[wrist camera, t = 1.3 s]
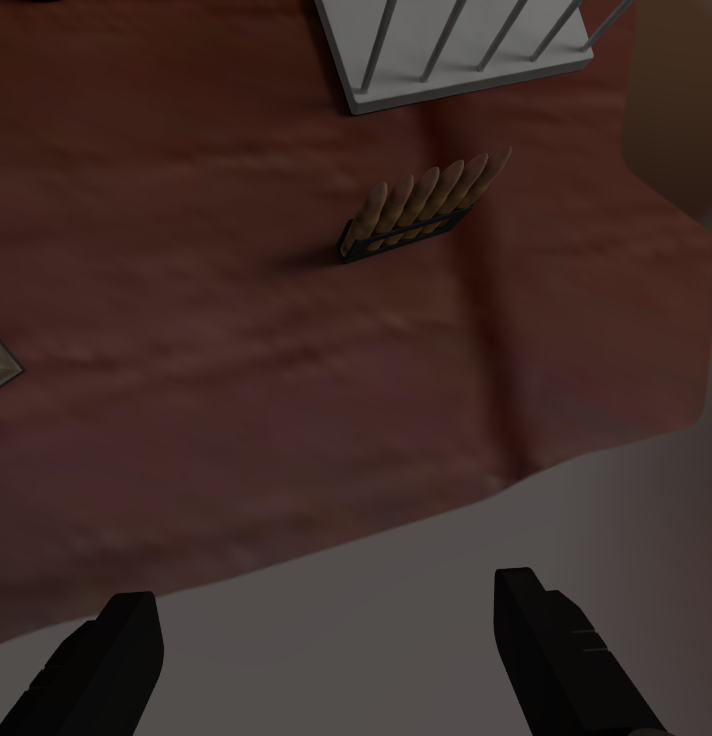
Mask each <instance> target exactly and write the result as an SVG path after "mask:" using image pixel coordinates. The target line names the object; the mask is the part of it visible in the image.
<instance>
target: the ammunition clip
mask: <svg viewBox="0 0 712 736" xmlns="http://www.w3.org/2000/svg"><path fill="white" fill-rule="evenodd" d="M511 149H512V148H511V147H510V146H509V147H505V148H503V149H501V150H499V151H497V152H496V153H495V154H493V155H492V156H491V157H490V158H489V159H488V154H487V153H484V154H481V155H479V156H477V157H475V158H474V159H472V160H471V161H470V162H469V163H468V164H467V165H466V166H465V167H464V161H463V160H459V161H456V162H454V163H453V164H451V165H450V166H449V167H447V168H446V169H445V170H444V171H443V172H442V173H441V175H440V176H439V168H438V167H434V168H431V169H430V170H428V171H427V172H426V173H424V174H423V175H422V176H421V177H420V178H419V180H418V181H417V182H416V184H415V185H414V186H413V175H411V174H409V175H406V176H404V177H403V178H402V179H400V180H399V181H398V182H397V183H396V185H395V186H394V187H393V189H392V191H391V192H390V193H389V195H388V196H387V185H386V183H385V182H381V183H379V184H377V185H376V186H375V187H374V188H373V189H372V190H371V191H370V193H369V194H368V196H367V198H366V199H365V201H364V203H363V204H362V205H361V206H360V207H359V209H358V210H357V212H356V214H355V217H354V219H351V220H348V222H347V224H346V226H345V229H344V231H343V233H342V235H341V237H340V239H339V241H338V243H337V245H336V246H337V249H338V251H339V254H340V257H341V259H342V262H343V264H347V263H350V262H354V261H357V260H360V259H363V258H366V257H369V256H372V255H376V254H379V253H382V252H385V251H388V250H391V249H395V248H398V247H401V246H404V245H407V244H410V243H413V242H417V241H420V240H423V239H426V238H429V237H432V236H435V235H439V234H442V233H445V232H448V231H450V230H451V229H452V228H453V227H454V226H455V225H456V224H457V223H458V222H459V221H460V220H461V219H462V218H463V217H464V216H465V215H466V214H467V213H468V212H469V211H470V210H471V209H472V208H473V207H474V205H473V202H474V201H475V200H476V199H477V198H478V197H479V196H480V195H481V194H482V193H483V192H484V191H485V190H486V189H487V187H488V185H489V183H490V182H491V181H492V180H493V179H494V178H495V176H496V175H497V174H498V173H499V172H500V171H501V169H502V168H503V167H504V165H505V164H506V162H507V160H508V158H509V156H510V154H511ZM463 167H464V168H463ZM386 196H387V197H386Z"/></svg>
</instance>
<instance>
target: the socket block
mask: <svg viewBox="0 0 712 736" xmlns="http://www.w3.org/2000/svg"><path fill="white" fill-rule="evenodd" d="M25 371H26V370H25V369H24V368H23V366H22V365H21V364H20V363H19V362H18V360H17V359H16V358H15V357H14V356H13V354H12V353H11V352H10V351H9V349H8V348H7V347H6V346H5V345H4V343H3V342H2V341H1V340H0V388H1V387H2V386H4V385H6V384H7V383H9V382H10V381H12V380H13V379H15V378H16V377H18V376H19V375H21V374H22V373H24V372H25Z"/></svg>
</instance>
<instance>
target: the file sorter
mask: <svg viewBox="0 0 712 736" xmlns="http://www.w3.org/2000/svg"><path fill="white" fill-rule="evenodd" d="M314 1H315V4H316V7H317V10H318V13H319V16H320V19H321V22H322V25H323V28H324V31H325V34H326V37H327V40H328V43H329V46H330V49H331V52H332V56H333V59H334V62H335V65H336V68H337V71H338V74H339V77H340V80H341V83H342V86H343V89H344V92H345V95H346V98H347V102H348V105H349V108H350V111H351V113H352V114H353V115H359V114H364V113H368V112H373V111H377V110H382V109H387V108H392V107H397V106H402V105H406V104H412V103H417V102H422V101H427V100H433V99H437V98H442V97H447V96H452V95H457V94H462V93H467V92H472V91H478V90H483V89H488V88H493V87H497V86H502V85H508V84H513V83H518V82H523V81H528V80H533V79H538V78H543V77H548V76H553V75H557V74H562V73H568V72H573V71H578V70H582V69H583V68H584V67H585V66H586V65H587V64H588V62H589V61H590V60H591V59H592V58H593V52H592V49H591V46H592V45H593V43H594V42H595V41H596V40H597V39H598V38H599V37H600V36H601V35H602V34H603V33H604V32H605V31H606V30H607V29H608V28H609V27H610V26H611V24H612V23H613V22H614V21H615V20H616V19H617V18H618V17H619V16H620V15H621V14H622V13H623V11H624V10H625V9H626V8H627V7H628V6H629V5H630V4H631V3H632V2H633V1H634V0H623V1H622V3H621V4H620V5H619V6H618V7H617V8H616V9H615V10H614V11H613V12H612V13H611V15H610V16H609V17H608V18H607V19H606V20H605V21H604V22H603V24H602V25H601V26H600V27H599V28H598V29H597V30H596V31H595V33H594V34H593V35H592V36H591V38H590V39H588V36H587V33H586V30H585V27H584V24H583V21H582V17H581V15H580V11H579V8H578V6H579V5H580V3H581V2H582V1H583V0H314Z"/></svg>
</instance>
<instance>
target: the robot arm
mask: <svg viewBox="0 0 712 736" xmlns="http://www.w3.org/2000/svg"><path fill="white" fill-rule="evenodd" d="M493 623H494V634H495V640H496V644H497V648H498V651H499V654H500V657H501V659H502V662H503V664H504V666H505V669H506V672H507V674H508V676H509V679H510V681H511V684H512V686H513V689H514V691H515V693H516V696H517V699H518V701H519V703H520V706H521V708H522V711H523V713H524V715H525V718H526V720H527V723H528V725H529V728H530V730H531V733H532V735H533V736H675V735H673V734H670V733H668V732H667V731H666V729H665V728H664V727H663V725H662V724H661V722H660V721H659V720H658V718H657V717H656V715H655V714H654V713H653V711H652V710H651V709H650V707H649V705H648V704H647V703H646V701H645V700H644V698H643V697H642V695H641V694H640V693H639V691H638V690H637V688H636V687H635V686H634V684H633V683H632V682H631V680H630V679H629V677H628V676H627V674H626V673H625V671H624V670H623V668H622V667H621V666H620V664H619V663H618V661H617V660H616V658H615V657H614V656H613V654H612V653H611V652H610V651H608V649H607V646H606V644H605V643H604V642H603V640H602V639H601V637H600V636H599V634H598V633H595V630H594V627H593V626H592V625H591V623H590V622H589V620H588V619H587V617H586V616H585V614H584V613H583V612H582V610H581V609H580V608H579V607H578V606H577V605H576V604H574V603H573V602H572V601H571V600H570V599H568V598H567V597H566V596H565V595H563V594H562V593H561V592H560V591H558V590H553V591H545V589H544V588H543V586H542V584H541V583H540V581H539V580H538V579H537V577H536V575H535V573H534V572H533V571H532V569H531V568H529V567H523V568H508V569H497V570H496V572H495V582H494V621H493ZM163 658H164V644H163V638H162V633H161V627H160V622H159V616H158V612H157V606H156V600H155V597H154V594H153V593H152V592H150V591H146V592H131V593H118V594H115V595H114V596H113V597H112V598H111V599H110V600H109V602H108V603H107V604H106V606H105V607H104V609H103V610H102V612H101V613H100V614H99V616H98V617H97V619H96V620H90V621H86V622H85V623H84V624H83V625H82V626H80V627H79V628H78V629H77V630H76V631H74V633H72V634H71V635H70V636H68V637H67V638H66V639H65V640H64V641H63V642H62V643H61V644H60V646H59V647H58V648H57V650H56V651H55V652H54V654H53V655H52V656H51V658H50V659H49V660H48V662H47V663H46V664H45V668H44V670H41V671H40V672H39V673H38V675H37V676H36V677H35V679H34V680H33V681H32V683H31V684H30V687H29V690H28V691H25V692H24V693H23V695H22V696H21V697H20V699H19V700H18V701H17V703H16V704H15V705H14V706H13V708H12V709H11V710H10V712H9V713H8V714H7V716H6V717H5V718H4V720H3V721H2V722H1V724H0V736H133V733H134V731H135V729H136V727H137V725H138V722H139V720H140V718H141V716H142V713H143V711H144V709H145V707H146V705H147V702H148V700H149V698H150V696H151V694H152V691H153V689H154V687H155V684H156V683H157V680H158V678H159V675H160V672H161V669H162V664H163Z"/></svg>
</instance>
